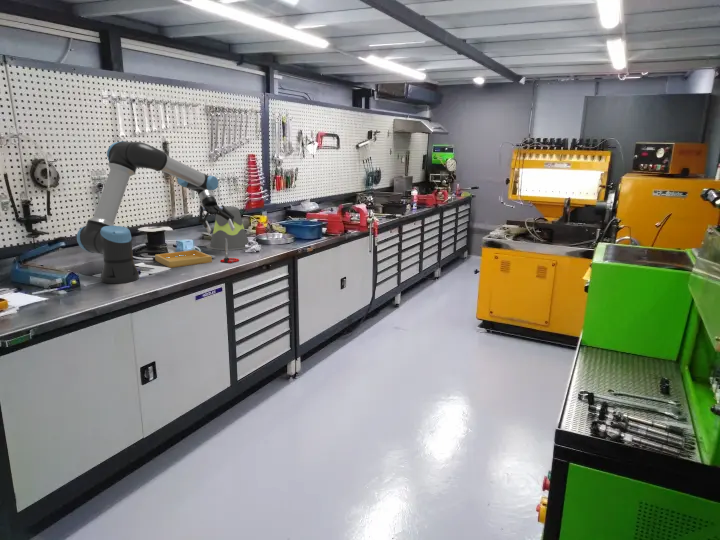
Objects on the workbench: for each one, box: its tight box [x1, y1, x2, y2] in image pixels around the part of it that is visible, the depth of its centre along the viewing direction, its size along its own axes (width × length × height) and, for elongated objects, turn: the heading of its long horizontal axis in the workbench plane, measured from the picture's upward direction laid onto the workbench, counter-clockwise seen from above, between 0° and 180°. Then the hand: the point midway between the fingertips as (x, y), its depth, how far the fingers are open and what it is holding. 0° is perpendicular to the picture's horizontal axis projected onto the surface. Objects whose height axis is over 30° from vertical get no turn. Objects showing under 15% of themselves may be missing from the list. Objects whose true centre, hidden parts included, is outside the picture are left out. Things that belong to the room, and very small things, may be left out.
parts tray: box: [154, 249, 213, 269], centre depth 249 cm, size 22×20×3 cm
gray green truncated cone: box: [205, 205, 250, 251], centre depth 290 cm, size 28×28×24 cm
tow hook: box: [220, 238, 240, 264], centre depth 252 cm, size 8×13×9 cm
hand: (221, 230), depth 256 cm, fingers open, 13 cm apart
